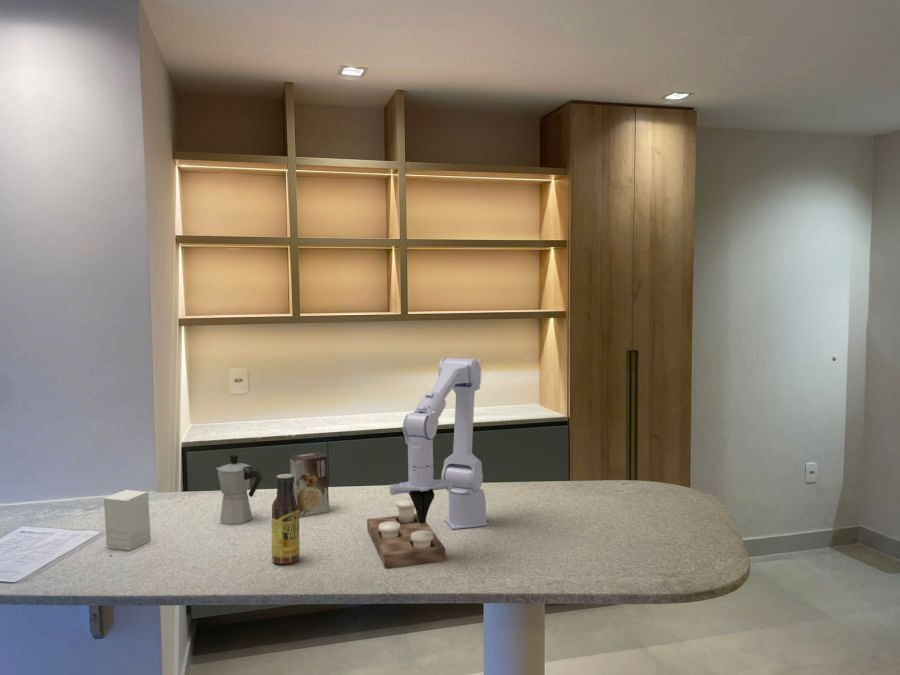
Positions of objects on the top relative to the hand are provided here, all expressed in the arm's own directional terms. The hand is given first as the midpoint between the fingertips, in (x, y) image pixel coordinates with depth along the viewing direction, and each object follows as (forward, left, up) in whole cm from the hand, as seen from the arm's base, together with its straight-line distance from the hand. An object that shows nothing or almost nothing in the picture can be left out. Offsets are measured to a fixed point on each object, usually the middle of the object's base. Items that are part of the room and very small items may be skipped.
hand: (421, 521), depth 160 cm
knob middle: (+6, -8, -8) cm, 13 cm away
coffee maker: (+42, -39, -9) cm, 58 cm away
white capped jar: (0, -17, -6) cm, 18 cm away
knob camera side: (0, 0, -8) cm, 8 cm away
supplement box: (+68, -29, -9) cm, 74 cm away
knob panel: (+3, -8, -8) cm, 12 cm away
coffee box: (+23, -40, -9) cm, 47 cm away
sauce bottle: (+31, -7, -9) cm, 33 cm away
